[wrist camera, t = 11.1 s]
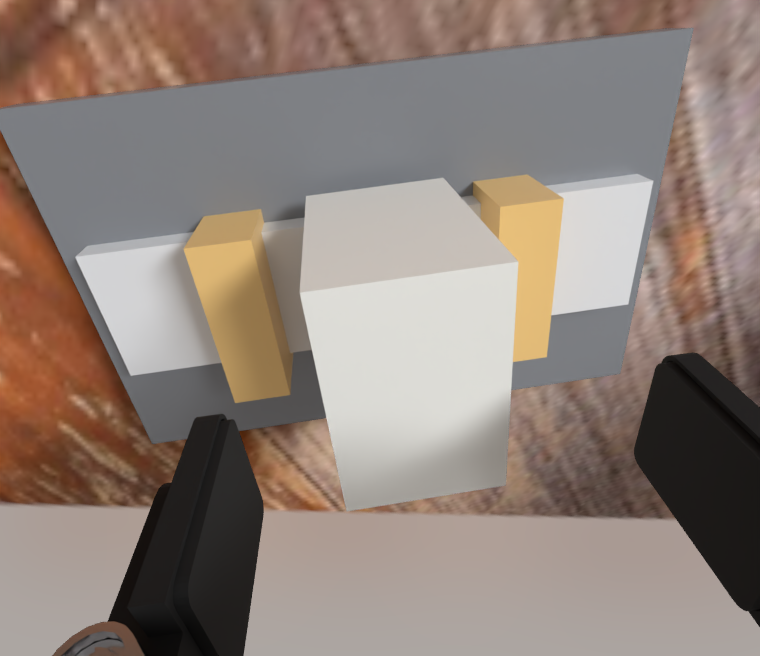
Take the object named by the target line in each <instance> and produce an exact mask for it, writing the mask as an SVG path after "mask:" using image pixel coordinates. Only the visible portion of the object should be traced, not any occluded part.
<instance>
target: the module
mask: <svg viewBox="0 0 760 656" xmlns="http://www.w3.org/2000/svg"><path fill="white" fill-rule="evenodd" d="M517 278H518V261H517V259H516V258H515V257H514V256H513V255H512V254H511V253H510V252H509V251H508V249H507V248H506V247H505V246H504V245H503V244H502V243H501V242H500V240H499V239H498V238H497V237H496V236H495V235H494V234H493V233H492V232H491V230H490V229H489V228H488V227H487V226H486V225H485V224H484V223H483V221H482V220H481V219H480V218H479V217H478V216H477V215H476V214H475V213H474V211H473V210H472V209H471V208H470V207H469V206H468V205H467V204H466V203H465V201H464V200H463V199H462V198H461V197H460V196H459V195H458V194H457V192H456V191H455V190H454V189H453V188H452V187H451V186H450V185H449V184H448V182H447V181H446V180H445V179H444V178H437V179H430V180H422V181H415V182H407V183H400V184H392V185H385V186H377V187H370V188H362V189H355V190H347V191H340V192H333V193H325V194H318V195H310V196H306V203H305V218H304V234H303V249H302V264H301V279H300V297H301V301H302V306H303V311H304V315H305V320H306V325H307V329H308V334H309V339H310V343H311V348H312V353H313V357H314V362H315V367H316V371H317V376H318V381H319V385H320V390H321V395H322V399H323V404H324V409H325V413H326V418H327V423H328V427H329V432H330V436H331V441H332V446H333V450H334V455H335V460H336V464H337V469H338V474H339V478H340V483H341V488H342V492H343V497H344V502H345V506H346V511H353V510H359V509H365V508H371V507H377V506H383V505H389V504H395V503H402V502H408V501H414V500H420V499H426V498H432V497H438V496H445V495H451V494H457V493H463V492H469V491H475V490H481V489H488V488H494V487H500V486H506V473H507V455H508V438H509V420H510V402H511V384H512V367H513V349H514V331H515V313H516V296H517Z"/></svg>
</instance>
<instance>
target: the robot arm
mask: <svg viewBox="0 0 760 656" xmlns="http://www.w3.org/2000/svg"><path fill="white" fill-rule="evenodd" d="M634 455H635V459H636V462H637V464H638V465H639V467H640V468H641V470H642V471H643V473H644V474H645V475H646V477H647V478H648V480H649V481H650V483H651V484H652V485H653V487H654V488H655V490H656V491H657V492H658V494H659V495H660V497H661V498H662V500H663V501H664V502H665V504H666V505H667V507H668V508H669V510H670V511H671V512H672V514H673V515H674V517H675V518H676V519H677V521H678V522H679V524H680V525H681V527H683V529H684V531H685V532H686V534H687V535H688V537H689V538H690V539H691V541H692V542H693V544H694V545H695V546H696V548H697V549H698V551H699V552H700V553H701V555H702V556H703V558H704V559H705V561H706V562H707V563H708V565H709V566H710V568H711V569H712V570H713V572H714V573H715V575H716V576H717V578H718V579H719V580H720V582H721V583H722V585H723V586H724V588H725V589H726V590H727V592H728V593H729V595H730V596H731V598H732V599H733V600H734V602H735V603H736V604H737V605H738V606H739V607H740V608H741V609H743V610H745V611H749V613H750V614H751V616H752V617H753V618H754V619H755V621H756V623H757V624H758V625H759V627H760V407H758V406H757V405H756V404H755V403H754V402H753V401H752V400H750V399H749V398H748V397H747V396H746V395H745V394H744V393H743V392H741V391H740V390H739V389H738V388H737V387H736V386H735V385H733V384H732V383H731V382H730V381H729V380H728V379H727V378H726V377H724V376H723V375H722V374H721V373H720V372H719V371H718V370H716V369H715V368H714V367H713V366H712V365H711V364H710V363H709V362H707V361H706V360H705V359H704V358H703V357H702V356H700V355H699V354H697V353H686V354H679V355H671V356H667V357H665V358H664V359H663V361H662V363H661V364H658V365H657V366H656V369H655V372H654V376H653V380H652V384H651V387H650V391H649V395H648V399H647V403H646V406H645V410H644V414H643V418H642V421H641V425H640V429H639V433H638V436H637V440H636V444H635V448H634ZM263 513H264V508H263V500H262V497H261V494H260V491H259V488H258V485H257V482H256V479H255V476H254V474H253V471H252V468H251V465H250V462H249V459H248V456H247V453H246V451H245V448H244V445H243V442H242V439H241V436H240V433H239V430H238V427H237V425H236V422H235V420H234V419H230V420H227V418H226V416H225V415H224V414H216V415H208V416H201V417H196V418H195V419H194V421H193V424H192V427H191V429H190V432H189V435H188V438H187V441H186V444H185V446H184V449H183V452H182V455H181V458H180V460H179V463H178V466H177V469H176V472H175V475H174V477H173V480H172V483H166V484H163V485H162V486H161V487H160V488H159V490H158V492H157V494H156V496H155V498H154V501H153V504H152V506H151V509H150V512H149V514H148V517H147V519H146V522H145V525H144V527H143V530H142V533H141V535H140V538H139V541H138V543H137V546H136V548H135V551H134V554H133V556H132V559H131V562H130V564H129V567H128V569H127V572H126V575H125V577H124V580H123V583H122V585H121V588H120V591H119V593H118V596H117V599H116V601H115V604H114V606H113V609H112V612H111V614H110V617H109V620H108V622H101V623H97V624H95V625H92V626H89V627H86V628H85V629H83V630H81V631H80V632H78V633H77V634H75V635H73V636H72V637H71V638H69V639H68V640H67V641H66V642H65V643H64V644H63V645H62V646H60V647H59V648H58V649H57V650H56V652H55V653H54V654H53V655H52V656H243V654H244V648H245V640H246V634H247V627H248V620H249V613H250V606H251V598H252V592H253V585H254V578H255V570H256V563H257V557H258V549H259V542H260V535H261V528H262V521H263Z"/></svg>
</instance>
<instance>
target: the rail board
mask: <svg viewBox="0 0 760 656" xmlns="http://www.w3.org/2000/svg"><path fill="white" fill-rule="evenodd" d="M692 33H693V28H665V29H656V30H648V31H639V32H630V33H622V34H613V35H605V36H596V37H588V38H579V39H571V40H562V41H553V42H545V43H536V44H528V45H519V46H511V47H502V48H493V49H485V50H476V51H468V52H459V53H451V54H442V55H434V56H425V57H416V58H408V59H399V60H391V61H382V62H374V63H365V64H357V65H348V66H339V67H331V68H322V69H314V70H305V71H297V72H288V73H280V74H271V75H262V76H254V77H245V78H237V79H228V80H220V81H211V82H202V83H194V84H185V85H177V86H168V87H160V88H151V89H143V90H134V91H125V92H117V93H108V94H100V95H91V96H83V97H74V98H66V99H57V100H48V101H40V102H31V103H23V104H16V105H11V106H7V107H2V108H0V130H1V132H2V134H3V137H4V139H5V141H6V143H7V145H8V147H9V149H10V151H11V153H12V155H13V157H14V159H15V161H16V163H17V165H18V167H19V170H20V172H21V174H22V176H23V178H24V180H25V182H26V184H27V186H28V188H29V190H30V192H31V194H32V196H33V198H34V201H35V203H36V205H37V207H38V209H39V211H40V213H41V215H42V217H43V219H44V221H45V223H46V225H47V227H48V229H49V232H50V234H51V236H52V238H53V240H54V242H55V244H56V246H57V248H58V250H59V252H60V254H61V256H62V258H63V260H64V263H65V265H66V267H67V269H68V271H69V273H70V275H71V277H72V279H73V281H74V283H75V285H76V287H77V289H78V291H79V293H80V296H81V298H82V300H83V302H84V304H85V306H86V308H87V310H88V312H89V314H90V316H91V318H92V320H93V322H94V324H95V327H96V329H97V331H98V333H99V335H100V337H101V339H102V341H103V343H104V345H105V347H106V349H107V351H108V353H109V355H110V358H111V360H112V362H113V364H114V366H115V368H116V370H117V372H118V374H119V376H120V378H121V380H122V382H123V384H124V386H125V389H126V391H127V393H128V395H129V397H130V399H131V401H132V403H133V405H134V407H135V409H136V411H137V413H138V415H139V417H140V419H141V422H142V424H143V426H144V428H145V430H146V432H147V434H148V436H149V438H150V440H151V442H152V444H156V443H163V442H170V441H176V440H183V439H187V438H188V435H189V432H190V429H191V427H192V424H193V421H194V419H195V418H196V417H201V416H208V415H216V414H224V415H225V416H226V418H227V420H230V419H234V420H235V422H236V425H237V427H238V430H239V431H243V430H250V429H256V428H263V427H270V426H276V425H283V424H290V423H296V422H303V421H310V420H316V419H323V418H326V413H325V409H324V404H323V399H322V395H321V390H320V385H319V381H318V376H317V371H316V367H315V362H314V357H313V353H312V348H311V343H310V339H309V334H308V329H307V325H306V320H305V315H304V311H303V306H302V301H301V297H300V279H301V264H302V249H303V234H304V218H305V203H306V196H310V195H318V194H325V193H333V192H340V191H347V190H355V189H362V188H370V187H377V186H385V185H392V184H400V183H407V182H415V181H422V180H430V179H437V178H444V179H445V180H446V181H447V182H448V184H449V185H450V186H451V187H452V188H453V189H454V190H455V191H456V192H457V194H458V195H459V196H460V197H461V198H462V199H463V200H464V201H465V203H466V204H467V205H468V206H469V207H470V208H471V209H472V210H473V211H474V213H475V214H476V215H477V216H478V217H479V218H480V219H481V220H482V221H483V223H484V224H485V225H486V226H487V227H488V228H489V229H490V230H491V232H492V233H493V234H494V235H495V236H496V237H497V238H498V239H499V240H500V242H501V243H502V244H503V245H504V246H505V247H506V248H507V249H508V251H509V252H510V253H511V254H512V255H513V256H514V257H515V258H516V259H517V261H518V278H517V296H516V313H515V331H514V349H513V367H512V384H511V390H516V389H522V388H529V387H536V386H542V385H549V384H556V383H562V382H569V381H576V380H582V379H589V378H596V377H602V376H609V375H616V374H620V372H621V367H622V362H623V358H624V353H625V348H626V344H627V339H628V334H629V330H630V325H631V320H632V315H633V311H634V306H635V301H636V297H637V292H638V287H639V282H640V278H641V273H642V268H643V264H644V259H645V254H646V250H647V245H648V240H649V235H650V231H651V226H652V221H653V217H654V212H655V207H656V202H657V198H658V193H659V188H660V184H661V179H662V174H663V169H664V165H665V160H666V155H667V151H668V146H669V141H670V137H671V132H672V127H673V122H674V118H675V113H676V108H677V104H678V99H679V94H680V89H681V85H682V80H683V75H684V71H685V66H686V61H687V57H688V52H689V47H690V42H691V38H692Z"/></svg>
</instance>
